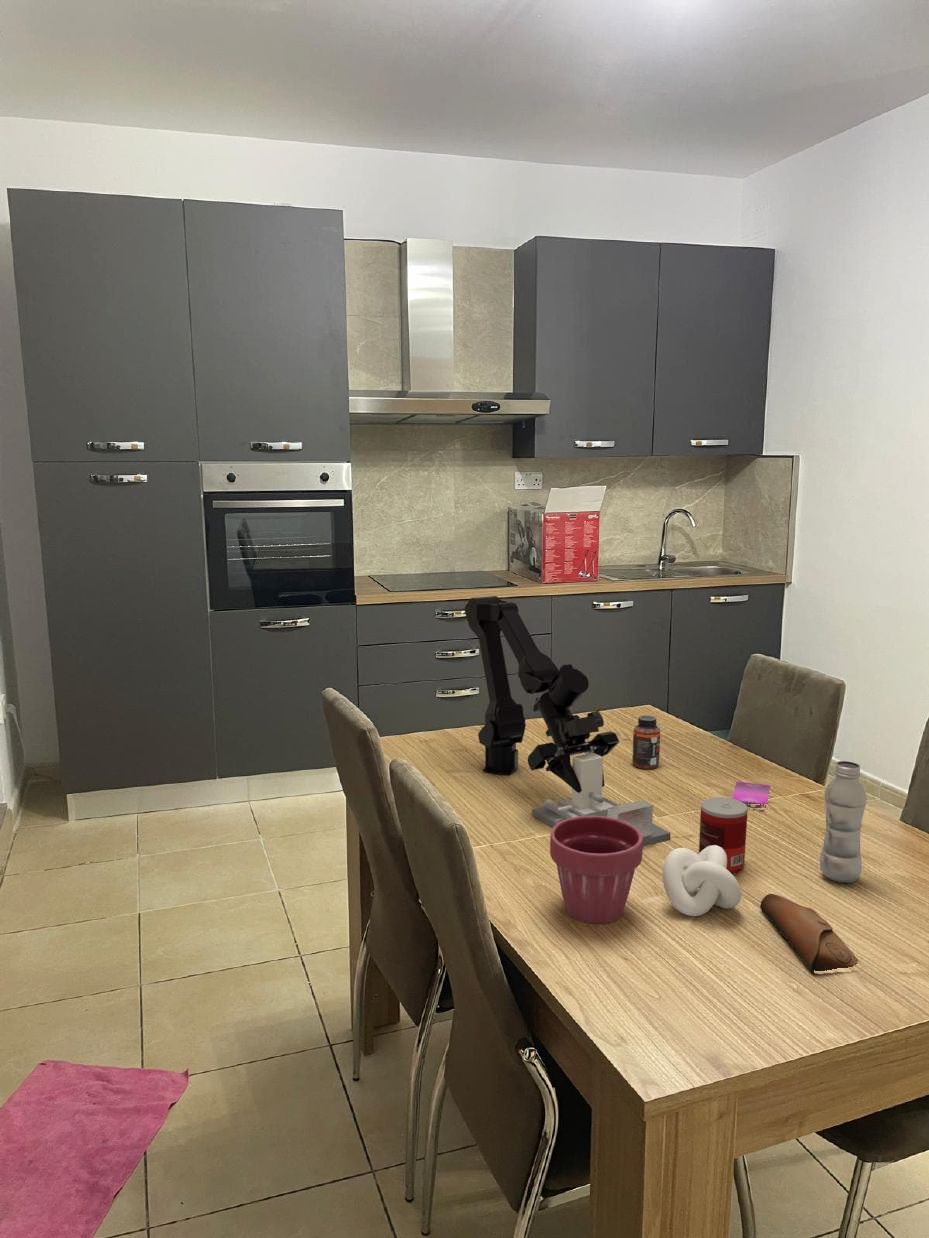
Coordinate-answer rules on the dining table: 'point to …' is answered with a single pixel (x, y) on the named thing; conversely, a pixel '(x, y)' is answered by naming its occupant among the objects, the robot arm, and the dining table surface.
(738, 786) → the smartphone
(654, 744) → the supplement bottle
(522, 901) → the dining table surface
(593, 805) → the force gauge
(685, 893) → the white knot sculpture
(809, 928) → the sunglasses case
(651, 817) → the grey block with recess
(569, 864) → the plant pot
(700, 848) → the canned food
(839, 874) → the plastic bottle
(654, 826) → the track
